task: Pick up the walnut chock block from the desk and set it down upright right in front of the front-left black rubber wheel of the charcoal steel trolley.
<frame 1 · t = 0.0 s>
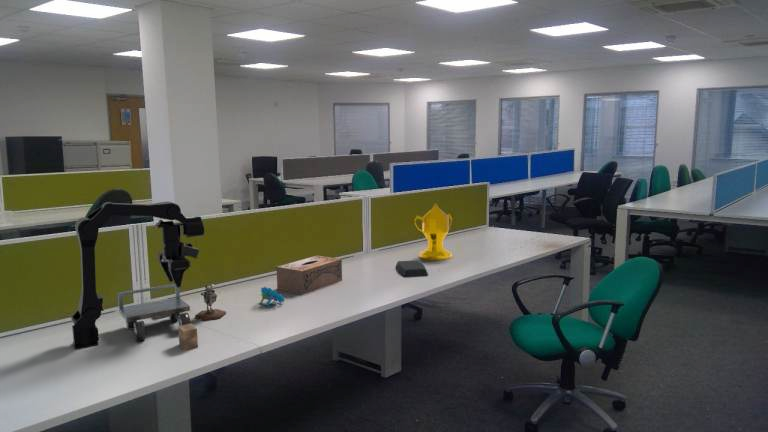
hand: (174, 284, 192), 15 cm above the table, fingers open, 9 cm apart
blue irregular piece: (272, 304, 218), on the table
decorative tile: (168, 313, 210), on the table
trophy cup: (434, 256, 299), on the table
tissue box cover: (310, 285, 245), on the table
robot figurine: (210, 316, 205), on the table
external hard drive: (411, 272, 267), on the table
trolley: (156, 327, 193), on the table
chock: (188, 345, 176), on the table
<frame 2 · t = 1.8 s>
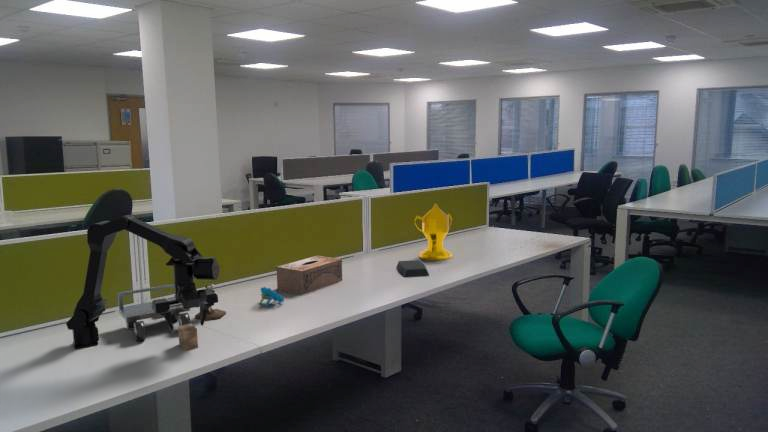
hand: (187, 328, 175), 6 cm above the table, fingers open, 9 cm apart
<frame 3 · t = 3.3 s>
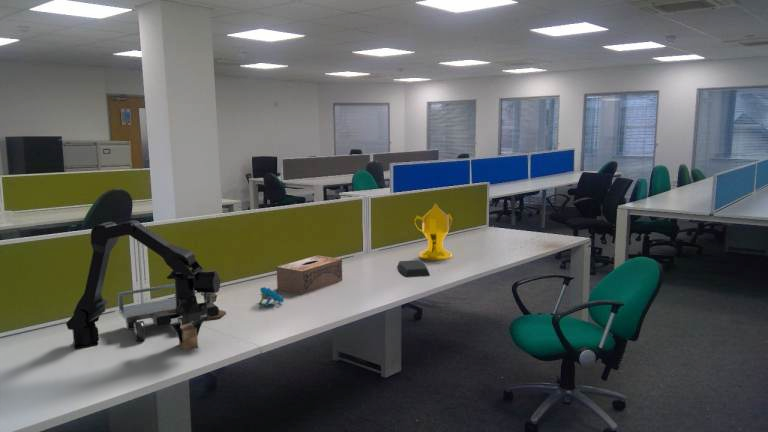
hand: (188, 340, 176), 2 cm above the table, fingers closed on chock, 4 cm apart
chock: (188, 345, 176), on the table, touching gripper
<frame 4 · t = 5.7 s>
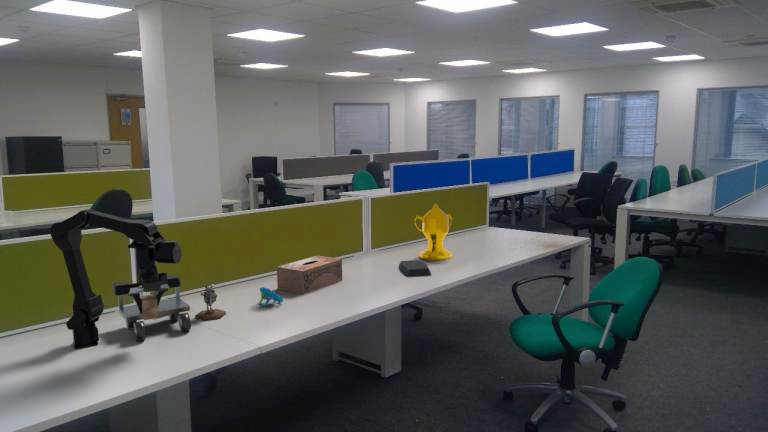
hand: (148, 311, 174), 11 cm above the table, fingers closed on chock, 4 cm apart
chock: (148, 316, 175), point 9 cm above the table, touching gripper
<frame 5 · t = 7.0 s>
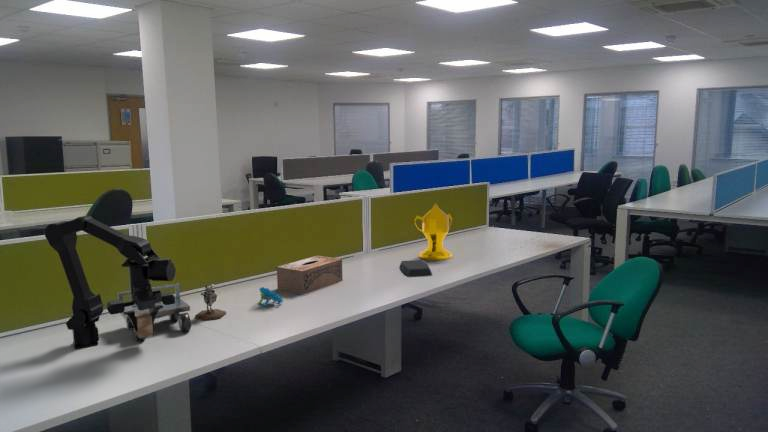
hand: (143, 329, 175), 5 cm above the table, fingers closed on chock, 4 cm apart
chock: (144, 334, 175), point 4 cm above the table, touching gripper
when the fingers open (3 cm above the table, at t = 8.1 s): chock drops 2 cm, on the table.
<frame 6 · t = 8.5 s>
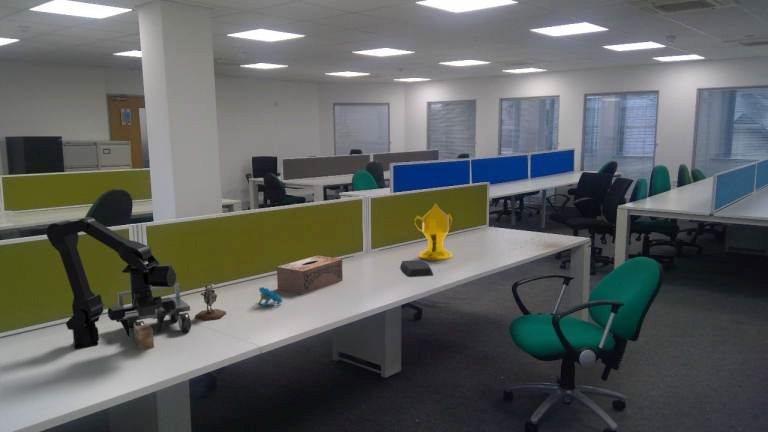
hand: (144, 335, 176), 3 cm above the table, fingers open, 8 cm apart
chock: (145, 346, 176), on the table
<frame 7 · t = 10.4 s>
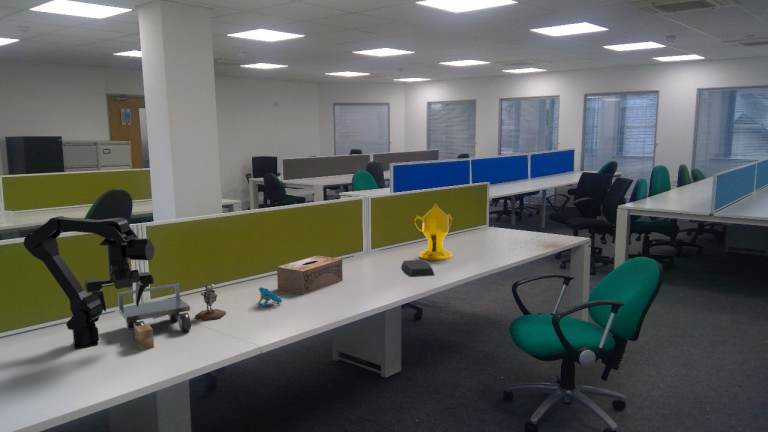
hand: (121, 308, 176), 12 cm above the table, fingers open, 9 cm apart
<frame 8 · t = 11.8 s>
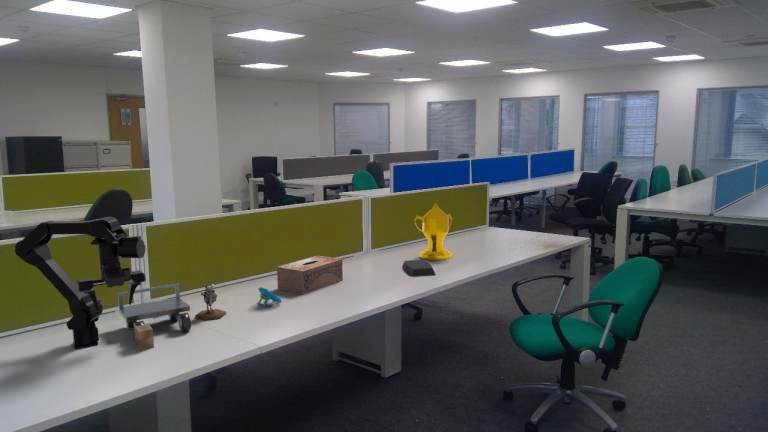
hand: (113, 307, 176), 12 cm above the table, fingers open, 9 cm apart
at the end: chock 0.3 cm from the target spot, on the table; chock tilted 0°; the gripper is holding nothing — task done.
